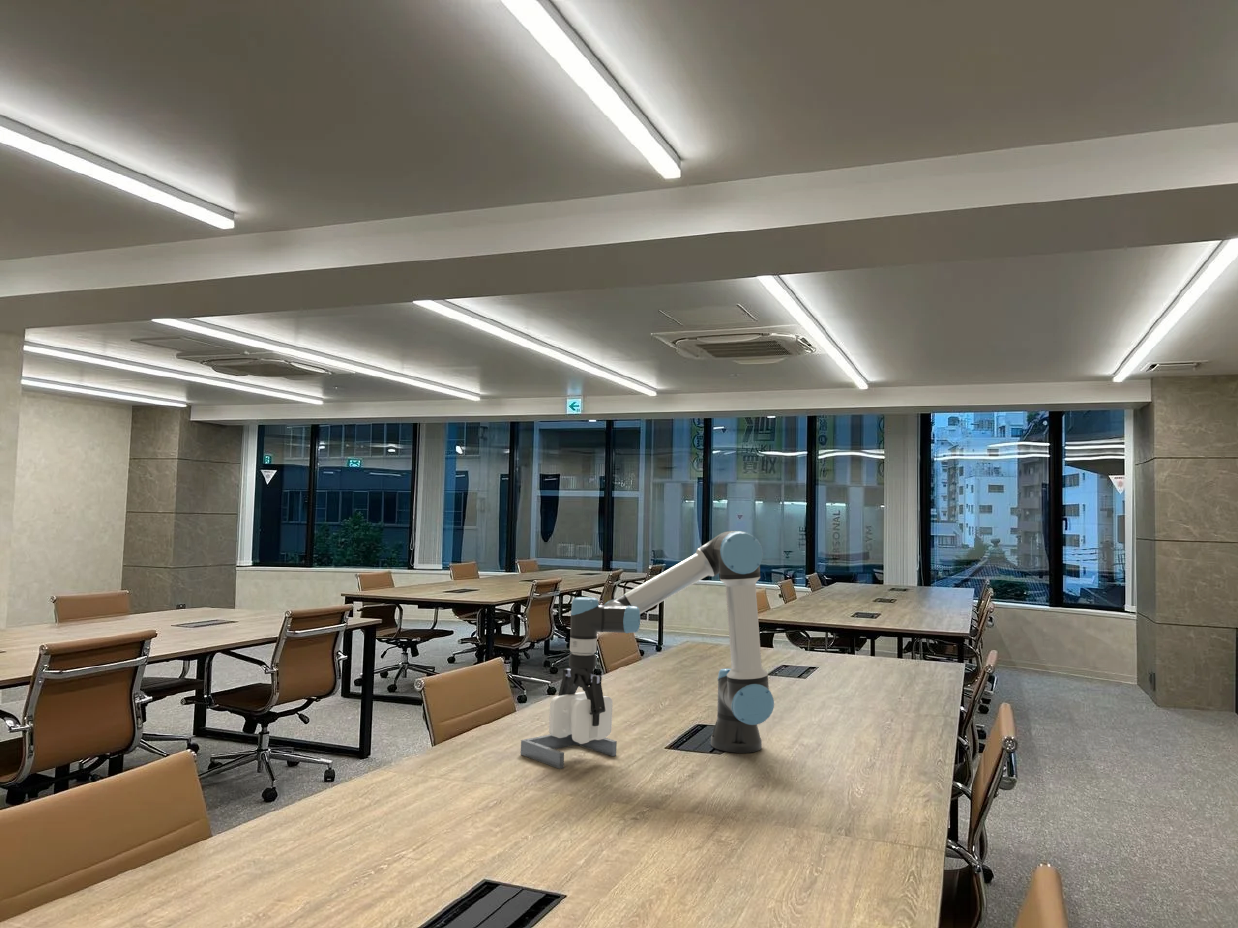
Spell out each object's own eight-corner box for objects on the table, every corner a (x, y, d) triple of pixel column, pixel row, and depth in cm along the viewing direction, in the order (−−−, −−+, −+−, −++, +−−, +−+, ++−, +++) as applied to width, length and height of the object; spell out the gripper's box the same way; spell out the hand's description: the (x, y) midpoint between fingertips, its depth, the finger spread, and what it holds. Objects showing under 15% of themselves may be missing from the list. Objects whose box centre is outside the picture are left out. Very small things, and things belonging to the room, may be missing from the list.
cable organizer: (573, 746, 225) (575, 702, 226) (546, 738, 232) (548, 696, 233) (611, 737, 236) (613, 695, 236) (585, 730, 243) (587, 689, 244)
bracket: (616, 755, 238) (616, 740, 238) (559, 768, 223) (559, 753, 224) (576, 742, 250) (577, 728, 250) (520, 754, 236) (521, 739, 236)
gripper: (546, 648, 241) (543, 726, 240) (600, 660, 225) (597, 744, 223) (566, 646, 246) (563, 723, 245) (620, 657, 230) (617, 739, 228)
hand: (579, 733), depth 234 cm, fingers closed on cable organizer, 10 cm apart
